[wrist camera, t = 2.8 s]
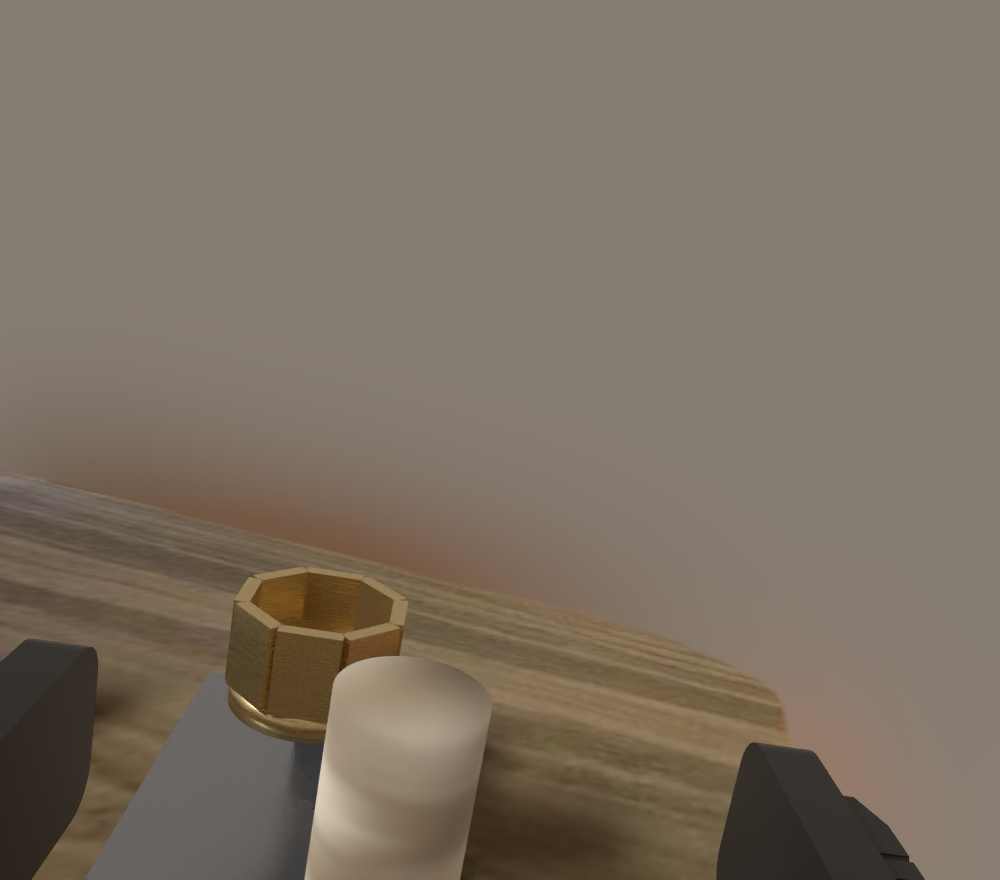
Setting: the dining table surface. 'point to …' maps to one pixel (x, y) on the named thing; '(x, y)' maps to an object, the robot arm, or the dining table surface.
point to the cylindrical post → (398, 771)
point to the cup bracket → (255, 735)
